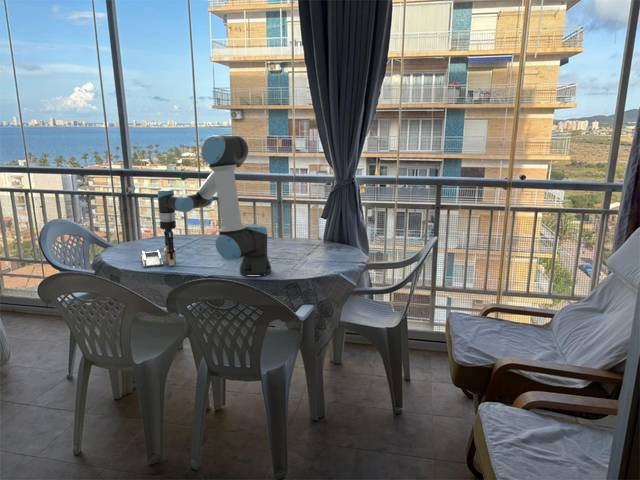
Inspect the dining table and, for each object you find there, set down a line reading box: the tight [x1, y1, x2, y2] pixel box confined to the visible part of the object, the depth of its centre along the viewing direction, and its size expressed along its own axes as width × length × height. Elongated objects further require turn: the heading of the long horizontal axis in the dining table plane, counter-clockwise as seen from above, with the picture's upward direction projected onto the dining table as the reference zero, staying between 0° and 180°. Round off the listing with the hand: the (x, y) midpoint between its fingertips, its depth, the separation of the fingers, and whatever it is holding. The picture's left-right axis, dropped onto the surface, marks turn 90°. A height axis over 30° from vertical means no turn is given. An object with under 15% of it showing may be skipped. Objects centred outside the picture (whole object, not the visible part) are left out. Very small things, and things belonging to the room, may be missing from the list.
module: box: [163, 247, 177, 265], centre depth 223 cm, size 4×5×8 cm
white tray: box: [141, 249, 164, 269], centre depth 225 cm, size 20×9×4 cm, turn 24°
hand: (170, 261), depth 224 cm, fingers open, 12 cm apart
